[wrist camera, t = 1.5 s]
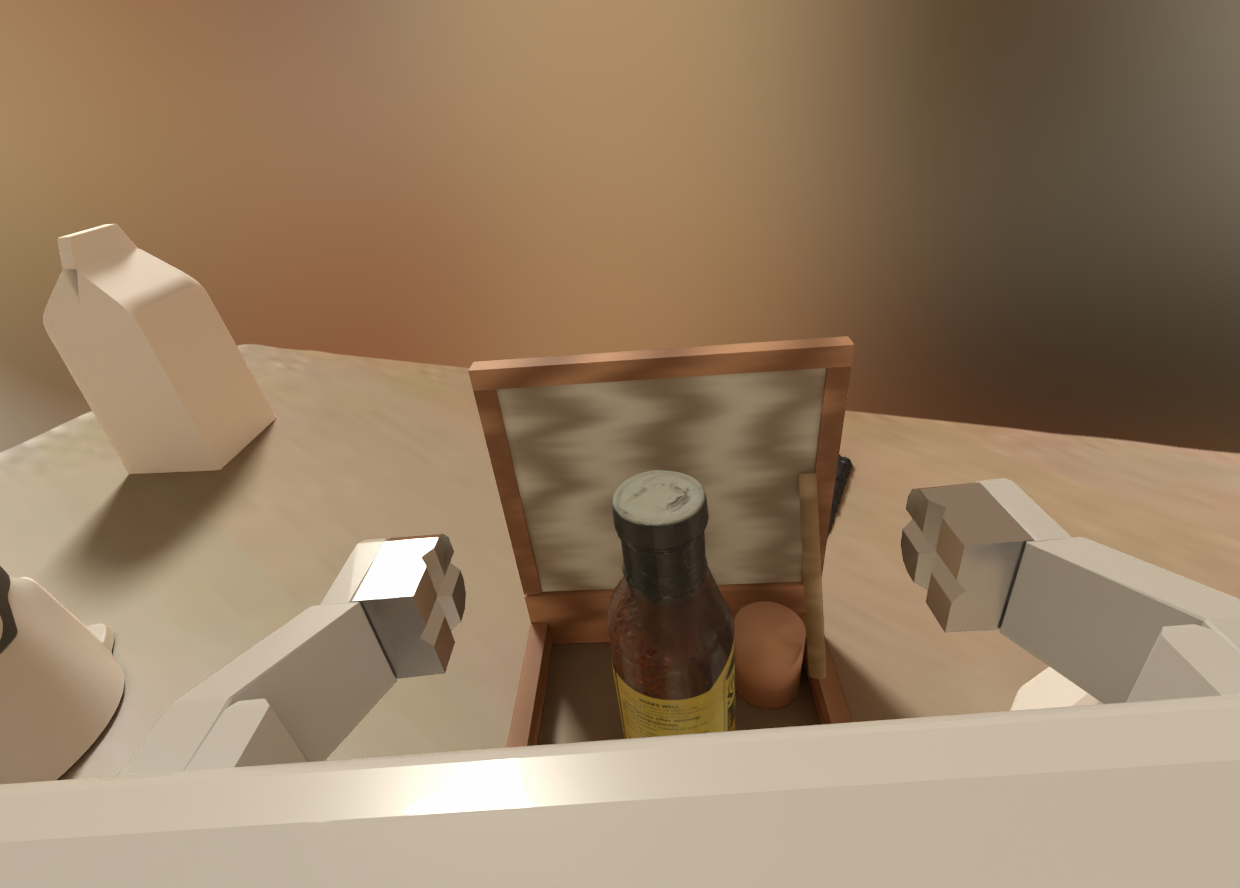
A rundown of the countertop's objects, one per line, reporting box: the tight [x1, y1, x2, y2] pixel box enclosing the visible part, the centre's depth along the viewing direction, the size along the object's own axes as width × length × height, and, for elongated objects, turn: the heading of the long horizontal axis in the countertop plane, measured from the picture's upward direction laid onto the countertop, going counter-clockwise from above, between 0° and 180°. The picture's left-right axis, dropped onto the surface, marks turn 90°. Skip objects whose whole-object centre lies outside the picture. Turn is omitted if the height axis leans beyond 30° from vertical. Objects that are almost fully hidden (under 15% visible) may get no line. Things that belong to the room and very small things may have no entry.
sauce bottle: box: [608, 470, 736, 739], centre depth 29 cm, size 7×6×20 cm
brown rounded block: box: [734, 601, 806, 709], centre depth 37 cm, size 4×4×5 cm
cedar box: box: [469, 336, 854, 748], centre depth 29 cm, size 20×18×22 cm
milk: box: [43, 224, 276, 474], centre depth 66 cm, size 12×12×26 cm
